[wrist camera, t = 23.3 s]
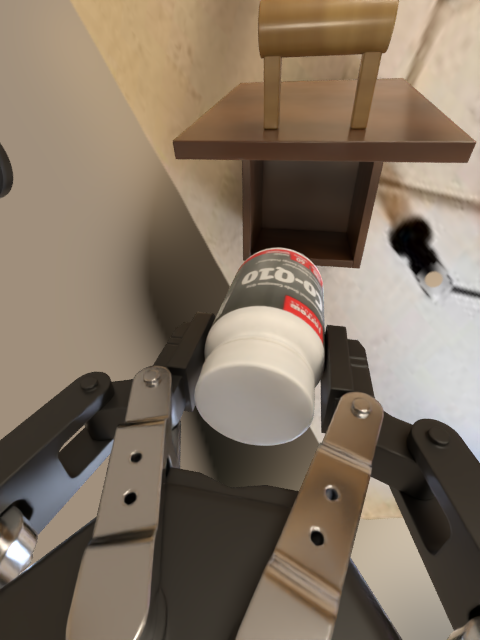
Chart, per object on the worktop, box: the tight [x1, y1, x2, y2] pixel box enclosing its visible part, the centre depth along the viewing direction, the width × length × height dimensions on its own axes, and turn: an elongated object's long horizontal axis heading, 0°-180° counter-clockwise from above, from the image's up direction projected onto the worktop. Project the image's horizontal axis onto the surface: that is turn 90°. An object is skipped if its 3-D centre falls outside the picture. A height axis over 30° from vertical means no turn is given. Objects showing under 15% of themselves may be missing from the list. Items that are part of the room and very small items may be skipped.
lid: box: [173, 0, 476, 163], centre depth 18 cm, size 16×13×5 cm
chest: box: [242, 160, 383, 268], centre depth 34 cm, size 16×13×10 cm
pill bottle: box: [194, 248, 325, 446], centre depth 14 cm, size 5×5×8 cm
